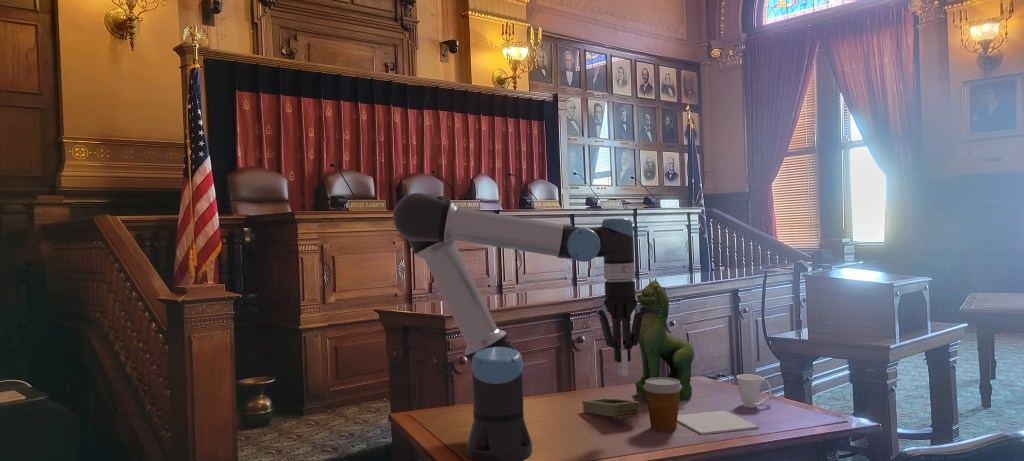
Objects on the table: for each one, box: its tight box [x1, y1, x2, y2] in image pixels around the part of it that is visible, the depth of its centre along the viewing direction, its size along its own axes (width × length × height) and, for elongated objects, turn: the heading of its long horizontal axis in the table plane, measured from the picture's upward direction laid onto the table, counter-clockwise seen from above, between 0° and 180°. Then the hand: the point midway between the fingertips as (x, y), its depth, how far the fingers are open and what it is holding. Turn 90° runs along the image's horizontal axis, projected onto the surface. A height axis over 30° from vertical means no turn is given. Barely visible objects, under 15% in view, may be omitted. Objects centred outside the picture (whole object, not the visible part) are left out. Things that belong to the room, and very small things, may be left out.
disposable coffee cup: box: [644, 377, 682, 433], centre depth 182 cm, size 10×10×12 cm
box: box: [581, 397, 640, 421], centre depth 194 cm, size 8×22×5 cm, turn 21°
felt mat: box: [677, 410, 759, 436], centre depth 186 cm, size 16×16×1 cm
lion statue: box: [634, 279, 695, 402], centre depth 214 cm, size 14×17×35 cm
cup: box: [736, 373, 773, 408], centre depth 202 cm, size 7×10×8 cm
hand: (623, 374), depth 179 cm, fingers closed
